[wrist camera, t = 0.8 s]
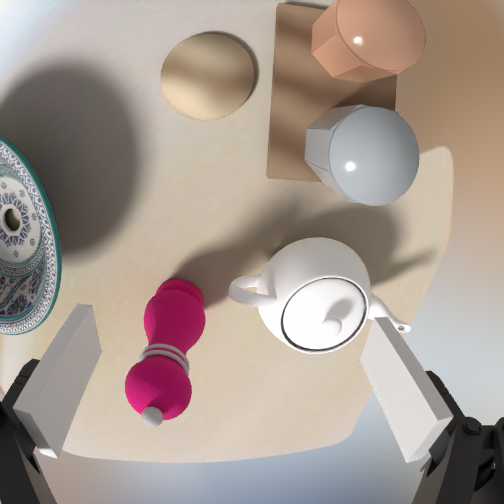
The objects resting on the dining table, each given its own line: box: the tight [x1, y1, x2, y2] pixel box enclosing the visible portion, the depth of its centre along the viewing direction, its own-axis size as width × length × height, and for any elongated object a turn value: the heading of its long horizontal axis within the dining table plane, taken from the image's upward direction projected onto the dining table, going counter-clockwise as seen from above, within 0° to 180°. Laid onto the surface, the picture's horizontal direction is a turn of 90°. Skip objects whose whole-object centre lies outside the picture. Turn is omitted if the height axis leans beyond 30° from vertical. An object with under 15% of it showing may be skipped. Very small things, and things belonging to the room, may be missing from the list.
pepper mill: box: [125, 279, 205, 427], centre depth 31 cm, size 7×7×20 cm
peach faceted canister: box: [311, 0, 426, 83], centre depth 24 cm, size 8×8×9 cm
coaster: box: [161, 33, 254, 120], centre depth 30 cm, size 10×10×1 cm
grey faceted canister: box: [304, 105, 419, 206], centre depth 29 cm, size 8×8×9 cm
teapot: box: [228, 237, 411, 354], centre depth 36 cm, size 22×14×11 cm, turn 76°
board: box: [267, 3, 397, 182], centre depth 31 cm, size 20×14×2 cm
